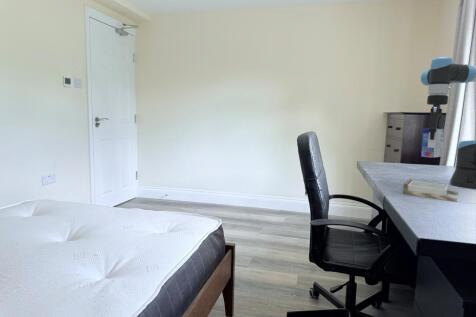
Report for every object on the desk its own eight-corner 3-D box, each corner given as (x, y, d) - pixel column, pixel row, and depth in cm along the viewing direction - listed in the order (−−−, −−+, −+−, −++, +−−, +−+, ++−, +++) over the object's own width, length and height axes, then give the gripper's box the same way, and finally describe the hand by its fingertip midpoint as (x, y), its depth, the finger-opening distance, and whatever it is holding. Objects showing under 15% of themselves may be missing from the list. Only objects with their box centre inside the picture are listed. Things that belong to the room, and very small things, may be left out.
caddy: (447, 193, 145) (448, 184, 145) (445, 199, 134) (446, 189, 133) (411, 188, 153) (412, 180, 153) (406, 193, 142) (407, 185, 141)
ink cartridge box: (428, 155, 147) (432, 123, 145) (442, 156, 142) (446, 123, 141) (419, 156, 141) (423, 122, 139) (433, 158, 136) (437, 123, 134)
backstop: (457, 194, 144) (459, 184, 143) (456, 201, 131) (458, 190, 130) (408, 188, 155) (409, 178, 155) (402, 193, 142) (403, 183, 141)
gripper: (446, 92, 127) (440, 149, 129) (449, 97, 145) (444, 146, 148) (424, 93, 131) (419, 147, 134) (430, 97, 150) (425, 144, 152)
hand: (432, 146), depth 141 cm, fingers closed on ink cartridge box, 10 cm apart
